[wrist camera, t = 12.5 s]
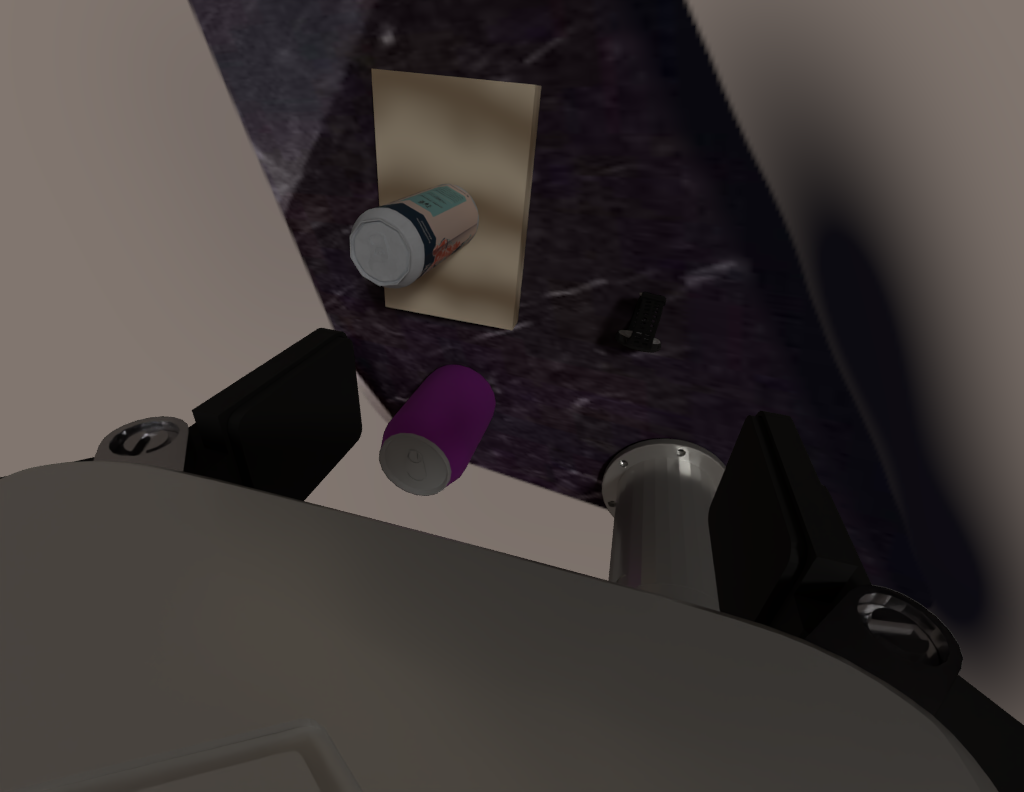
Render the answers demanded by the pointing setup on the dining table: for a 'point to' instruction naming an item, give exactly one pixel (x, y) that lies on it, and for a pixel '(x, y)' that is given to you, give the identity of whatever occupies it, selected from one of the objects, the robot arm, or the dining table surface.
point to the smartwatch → (634, 334)
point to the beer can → (412, 234)
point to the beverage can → (437, 430)
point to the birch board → (461, 183)
